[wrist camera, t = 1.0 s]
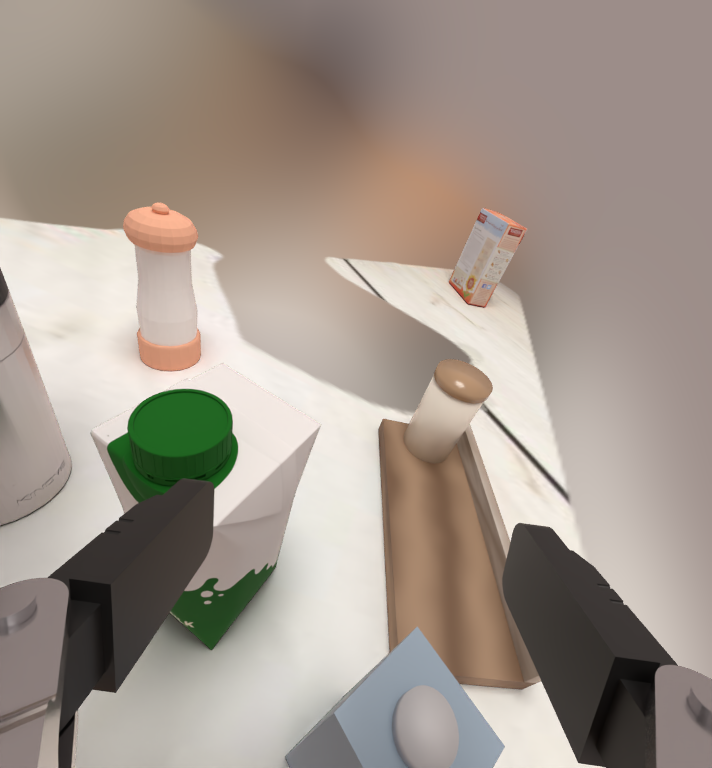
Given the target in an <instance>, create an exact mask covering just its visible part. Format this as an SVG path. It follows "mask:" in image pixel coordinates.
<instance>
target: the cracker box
mask: <svg viewBox="0 0 712 768" xmlns="http://www.w3.org/2000/svg"><path fill="white" fill-rule="evenodd" d="M526 231H527V229H526V228H525V227H523V226H521V225H519V224H518V223H516V222H514V221H513V220H511V219H509V218H508V217H506V216H504V215H502V214H500V213H498V212H496V211H492V210H488V209H485V208H482V210H481V212H480V214H479V216H478V219H477V221H476V223H475V225H474V228H473V230H472V232H471V234H470V236H469V239H468V241H467V243H466V245H465V248H464V250H463V252H462V254H461V256H460V259H459V261H458V263H457V265H456V267H455V270H454V272H453V274H452V276H451V278H450V281H449V283H450V284H451V285H452V286H453V287H454V288H455V290H456V291H457V292H458V293H459V294H460V295H461V296H462V298H463V299H464V300H465V301H466V302H467V303H468V304H472V305H477V306H481V307H485V306H486V305H487V303H488V301H489V299H490V297H491V295H492V294H493V292H494V290H495V288H496V286H497V284H498V282H499V281H500V279H501V277H502V275H503V273H504V271H505V269H506V268H507V266H508V264H509V262H510V260H511V258H512V256H513V255H514V253H515V251H516V249H517V247H518V245H519V244H520V242H521V240H522V238H523V236H524V234H525V233H526Z"/></svg>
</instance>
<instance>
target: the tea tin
mask: <svg viewBox="0 0 712 768" xmlns="http://www.w3.org/2000/svg"><path fill="white" fill-rule="evenodd" d="M504 747H505V746H504V745H503V743H502V742H501V741H500V739H499V738H498V736H497V735H496V734H495V732H494V731H493V730H492V728H491V727H490V725H489V724H488V723H487V721H486V720H485V719H484V717H483V716H482V714H481V713H480V712H479V710H478V709H477V708H476V706H475V705H474V703H473V702H472V701H471V699H470V698H469V697H468V695H467V694H466V692H465V691H464V690H463V688H462V687H461V686H460V684H459V683H458V681H457V680H456V679H455V677H454V676H453V675H452V673H451V672H450V670H449V669H448V668H447V666H446V665H445V664H444V662H443V661H442V659H441V658H440V657H439V655H438V654H437V653H436V651H435V650H434V649H433V647H432V646H431V644H430V643H429V642H428V640H427V639H426V638H425V636H424V635H423V633H422V632H421V631H420V629H419V628H418V627H416V628H415V629H414V630H413V631H412V632H411V633H410V634H409V635H408V636H407V637H406V638H405V639H404V640H403V641H401V642H400V643H399V644H398V645H397V646H396V647H395V648H394V649H393V650H392V651H391V652H390V653H389V654H388V655H387V656H386V657H385V658H384V659H383V660H381V661H380V662H379V663H378V664H377V665H376V666H375V667H374V668H373V669H372V670H371V671H370V672H369V673H368V674H367V675H366V676H365V677H364V678H363V679H361V680H360V681H359V682H358V683H357V684H356V685H355V686H354V687H353V688H352V689H351V690H350V691H349V692H348V693H347V694H346V695H345V696H344V697H343V698H342V699H341V700H340V701H339V702H338V703H337V704H336V705H335V706H334V707H333V708H332V709H331V710H330V711H329V712H328V713H327V714H326V715H325V716H324V717H323V718H322V719H321V720H320V721H319V722H318V723H317V724H316V725H315V726H314V727H313V728H312V730H311V731H310V732H309V733H308V734H307V735H306V736H305V737H304V738H303V739H302V740H301V741H300V742H299V743H298V744H297V745H296V746H295V747H294V748H293V749H292V750H291V751H290V752H289V753H288V754H287V755H286V756H285V758H286V760H287V762H288V765H289V767H290V768H493V767H494V765H495V763H496V761H497V760H498V758H499V756H500V754H501V752H502V751H503V749H504Z"/></svg>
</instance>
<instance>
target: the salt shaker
mask: <svg viewBox="0 0 712 768" xmlns="http://www.w3.org/2000/svg"><path fill="white" fill-rule="evenodd" d="M123 228H124V231H125V233H126V235H127V237H128V239H129V240H130V241H131V242H132V243H133V244H135V253H136V262H137V270H138V291H137V306H136V308H137V314H138V320H139V325H140V328H139V330H138V332H137V337H138V344H139V351H140V357H141V360H142V361H143V362H144V363H145V364H146V365H148V366H150V367H151V368H154V369H158V370H164V371H176V370H182V369H186V368H189V367H191V366H193V365H194V364H196V363H197V362H198V360H199V359H200V355H201V345H200V332H199V330H198V328H197V306H196V301H195V296H194V291H193V286H192V278H191V249H193V248H194V246H195V244H196V241H197V239H198V234H197V230H196V228H195V227H194V225H193V224H192V222H191V221H190V219H188V218H187V217H185V216H183V215H181V214H180V213H177V212H175V211H173V210H169V208H168V207H167V206H166V205H165V204H162V203H154V204H153V205H152V207H143V208H139V209H135V210H132V211H130V212H129V213H128V215H127V217H126V218H125V219H124V224H123Z"/></svg>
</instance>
